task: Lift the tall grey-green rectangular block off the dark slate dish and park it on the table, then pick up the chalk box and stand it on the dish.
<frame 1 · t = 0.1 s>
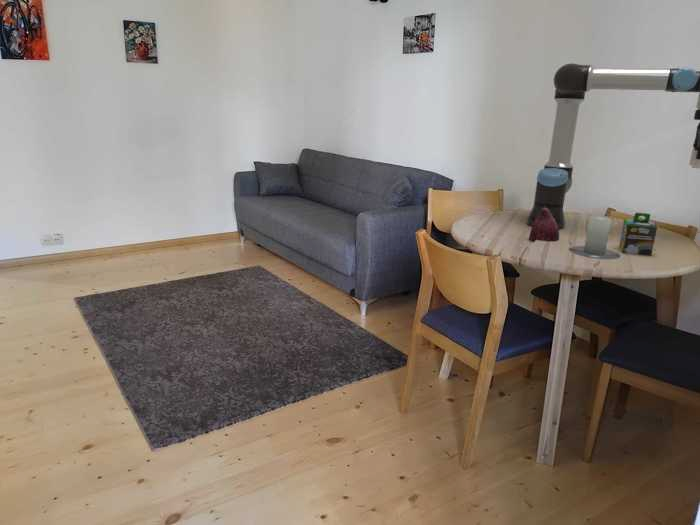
hand: (694, 166, 200), 28 cm above the table, tool pointing down, fingers open, 13 cm apart
chalk box: (633, 255, 180), on the table
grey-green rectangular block: (594, 252, 175), point 1 cm above the table, touching dish
dish: (593, 255, 176), on the table
vegetable: (543, 241, 193), on the table
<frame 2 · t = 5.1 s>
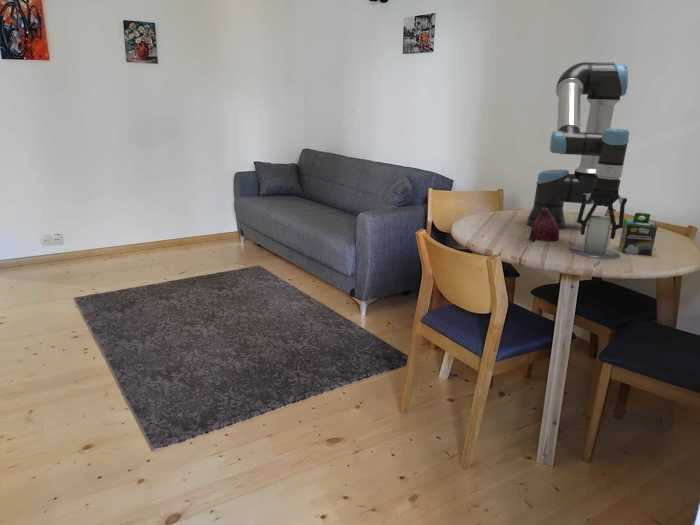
hand: (595, 245, 175), 3 cm above the table, tool pointing down, fingers closed on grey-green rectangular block, 7 cm apart
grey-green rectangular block: (594, 252, 175), point 1 cm above the table, touching dish, gripper
everything else where it was.
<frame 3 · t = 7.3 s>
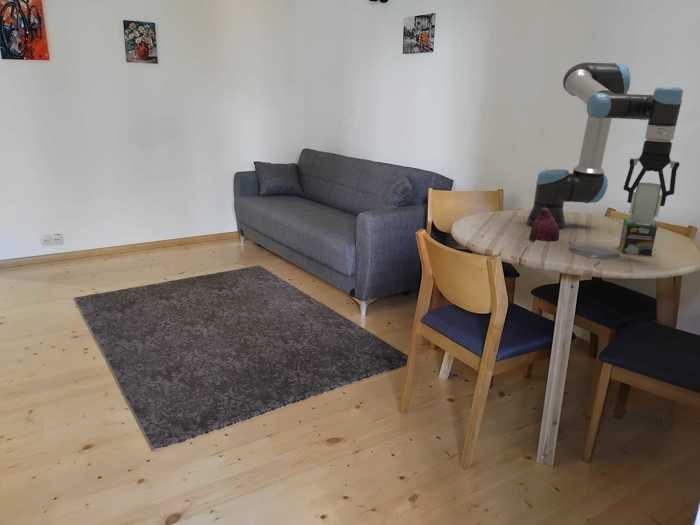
hand: (643, 214, 165), 16 cm above the table, tool pointing down, fingers closed on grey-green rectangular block, 7 cm apart
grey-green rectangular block: (641, 221, 165), point 14 cm above the table, touching gripper
everything else where it was.
when the fingers open (4 cm above the table, at t = 9.4 s): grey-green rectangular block drops 1 cm, on the table.
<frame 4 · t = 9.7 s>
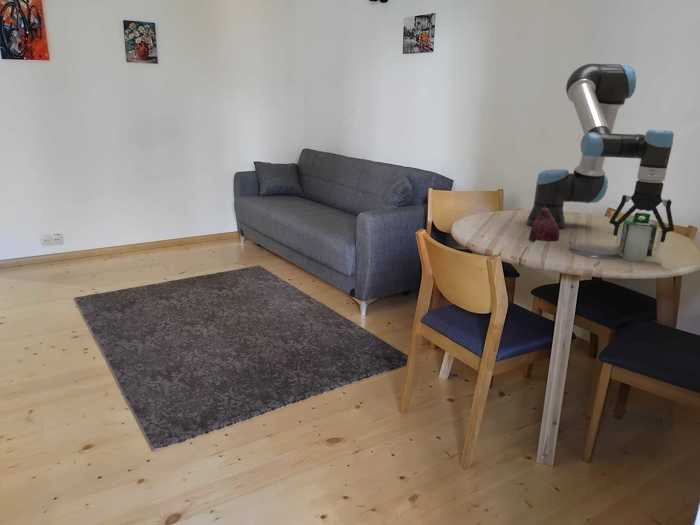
hand: (636, 248, 168), 5 cm above the table, tool pointing down, fingers open, 11 cm apart
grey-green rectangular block: (633, 262, 170), on the table
everything else where it was.
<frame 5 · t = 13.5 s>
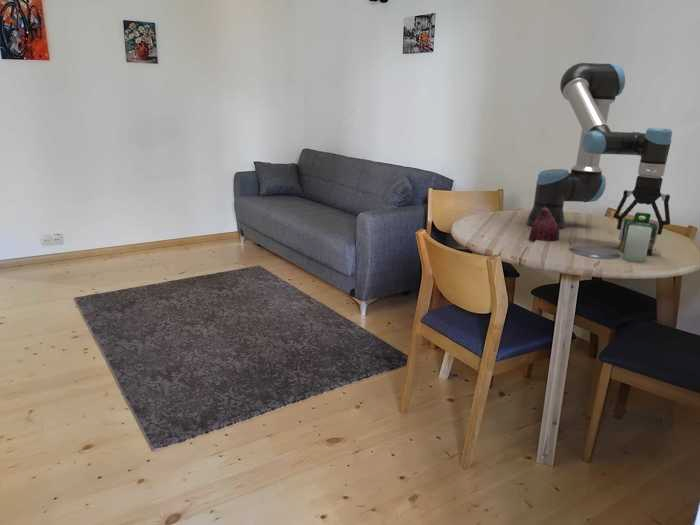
hand: (636, 241, 178), 5 cm above the table, tool pointing down, fingers closed on chalk box, 10 cm apart
chalk box: (633, 254, 180), on the table, touching gripper
everything else where it was.
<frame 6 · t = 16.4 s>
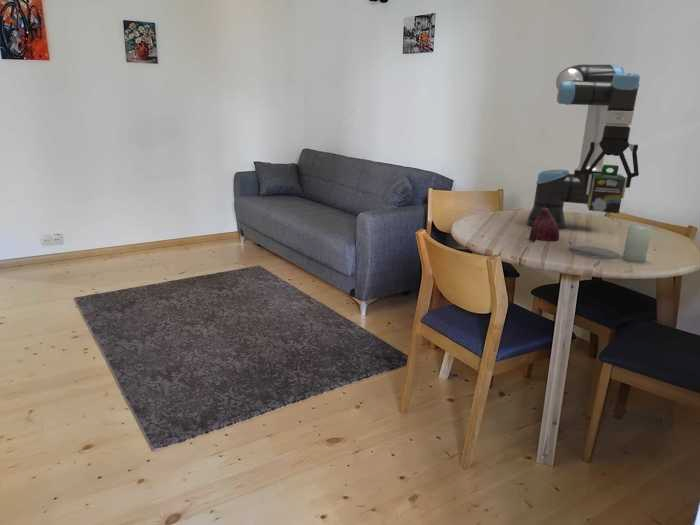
hand: (604, 195, 170), 21 cm above the table, tool pointing down, fingers closed on chalk box, 10 cm apart
chalk box: (602, 210, 171), point 16 cm above the table, touching gripper
everything else where it was.
when the fingers open (7 cm above the table, at t = 19.2 s): chalk box drops 1 cm, resting on dish.
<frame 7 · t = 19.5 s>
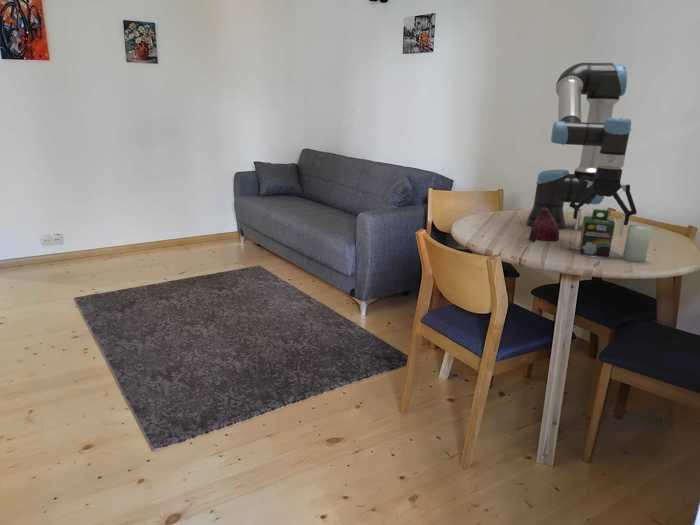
hand: (598, 231, 173), 8 cm above the table, tool pointing down, fingers open, 13 cm apart
chalk box: (593, 252, 176), point 1 cm above the table, touching dish
everything else where it was.
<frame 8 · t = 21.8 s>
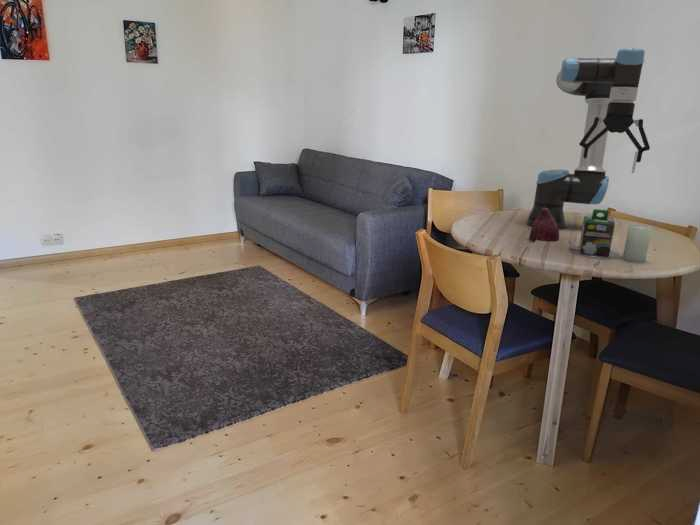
hand: (609, 170, 167), 29 cm above the table, tool pointing down, fingers open, 13 cm apart
nothing on the table moved.
at the end: chalk box inside the target area on the dish (0.3 cm from its centre), point 1.0 cm above the dish's base; chalk box tilted 0°; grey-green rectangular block moved 12.1 cm from its start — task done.
